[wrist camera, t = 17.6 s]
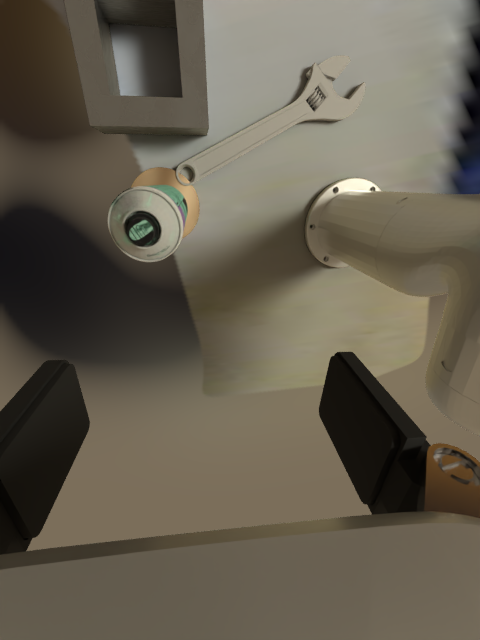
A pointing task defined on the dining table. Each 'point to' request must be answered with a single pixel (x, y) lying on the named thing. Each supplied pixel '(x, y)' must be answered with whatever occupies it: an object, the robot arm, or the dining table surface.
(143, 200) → the spray can
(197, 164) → the adjustable wrench
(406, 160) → the dining table surface
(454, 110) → the dining table surface
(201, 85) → the block
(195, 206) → the coaster
